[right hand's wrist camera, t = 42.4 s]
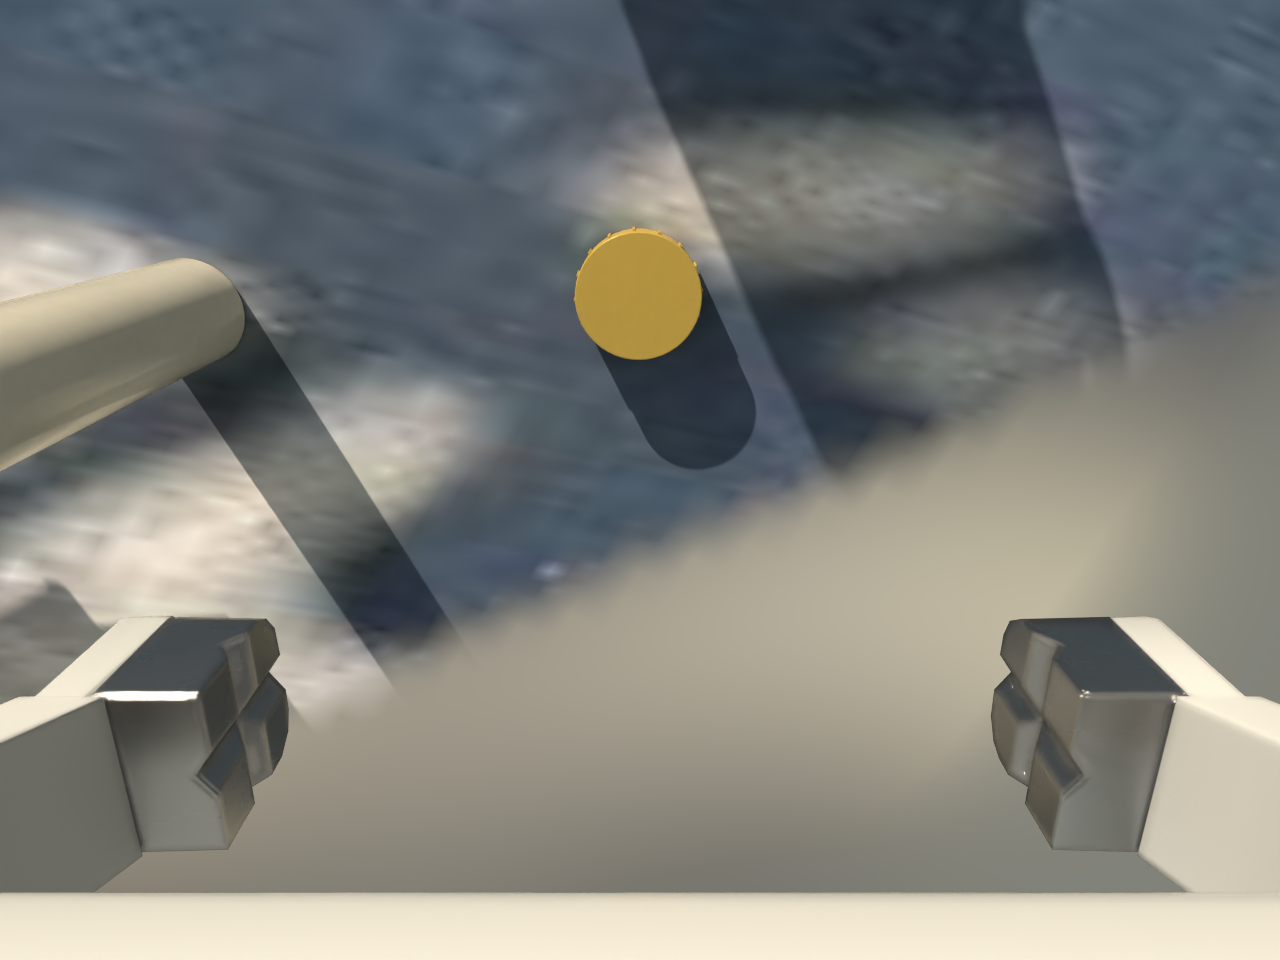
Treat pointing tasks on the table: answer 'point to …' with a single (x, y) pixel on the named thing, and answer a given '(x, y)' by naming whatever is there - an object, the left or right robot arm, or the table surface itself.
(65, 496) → the table surface
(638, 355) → the lid
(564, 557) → the table surface
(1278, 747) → the right robot arm
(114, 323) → the jar
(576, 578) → the table surface
